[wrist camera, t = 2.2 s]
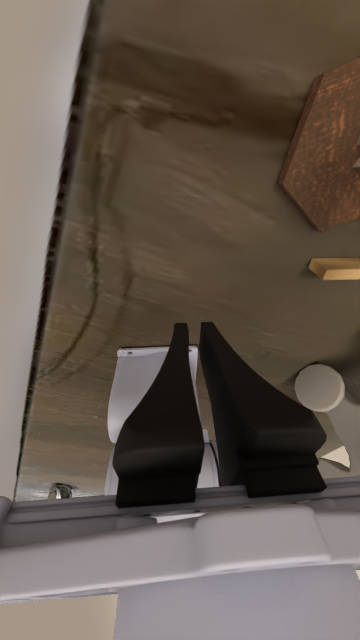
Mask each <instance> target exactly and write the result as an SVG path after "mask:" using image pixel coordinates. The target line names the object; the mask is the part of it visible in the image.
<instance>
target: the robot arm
mask: <svg viewBox="0 0 360 640" xmlns="http://www.w3.org/2000/svg"><path fill="white" fill-rule="evenodd" d="M189 349H191V350H189ZM199 351H200V359H201V365H202V369H203V373H204V377H205V381H206V385H207V389H208V393H209V397H210V402H211V407H212V414H213V421H214V428H215V435H216V441H214V440H209V435H208V430H207V429H202V425H201V418H200V411H199V404H198V396H197V389H196V370H197V358H198V347H197V346H189V331H188V326H187V323H176V324H174V332H173V337H172V341H171V344H170V347H146V348H122V349H118V351H117V355H118V360H117V365H116V370H115V375H114V380H113V384H112V389H111V394H110V399H109V406H108V433H109V438H110V440H111V442H113V443H116V445H115V446H114V447H113V449H112V451H111V455H110V459H109V464H108V470H107V476H106V482H105V489H104V495H102V496H89V497H75V498H62V499H49V500H36V501H22V502H12V501H11V500H10V499H9V498H6V497H3V496H0V604H8V603H18V602H30V601H42V600H52V599H65V598H76V597H88V596H98V595H110V594H118V598H117V608H116V618H115V628H114V639H113V640H360V580H359V578H358V576H357V573H356V571H355V570H360V476H354V477H340V478H327V479H323V478H322V476H321V474H320V472H319V469H318V467H317V465H319V461H318V459H317V457H316V455H315V453H316V452H317V451H318V450H319V449H320V448H321V446H322V445H323V444H324V443H325V441H326V437H327V435H326V433H325V432H324V430H323V428H322V426H321V424H320V423H319V421H318V419H317V418H316V417H315V415H314V414H313V412H312V411H311V410H309V409H307V408H306V407H304V406H302V405H301V404H299V403H297V402H296V401H294V400H292V399H291V398H289V397H288V396H286V395H285V394H283V393H282V392H280V391H279V390H277V389H276V388H275V387H273V386H272V385H271V384H270V383H268V382H267V381H266V380H264V379H263V378H262V377H261V376H259V375H258V374H257V373H256V372H255V371H254V370H253V369H252V368H250V367H249V366H248V365H247V364H246V363H245V362H244V361H243V360H242V359H241V358H240V356H239V355H238V354H237V353H236V352H235V351H234V350H233V349H232V347H231V346H230V345H229V344H228V343H227V341H226V340H225V339H224V337H223V336H222V335H221V333H220V332H219V331H218V329H217V328H216V326H215V325H214V323H213V322H201V332H200V344H199Z"/></svg>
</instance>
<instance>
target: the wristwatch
mask: <svg viewBox="0 0 360 640" xmlns="http://www.w3.org/2000/svg"><path fill="white" fill-rule="evenodd" d="M56 488H58V489H59V490H60V495H61V499H62V498H71V497H72V492H71V489H70V487H69V486H66V485H56V486H52V487H51V488H50V494H49V495H48V500H49V499H56V495H57V492H56Z"/></svg>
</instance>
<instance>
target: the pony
mask: <svg viewBox="0 0 360 640" xmlns="http://www.w3.org/2000/svg"><path fill="white" fill-rule="evenodd" d="M295 392H296V395H297V398H298V400H299V401H300V402H301V403H302V404H303V406H305V407H307V408H309V409H311V410H313V411H316V412H324V413H325V414H326V415H327V416H328V417H329V418H330V420H331V423H332V427H333V429H334V431H335V433H336V435H337V436H338V438H339V439H340V441H341V442H342V444H343V445H344V446H345V448H346V451H347V453H348V455H349V460H350V468H348V467H346V466H344V465H342V464H341V463H339V462H335V461H332V460H328V459H325V458H318V461H319V465H317V467H318V469H319V472H320V474H321V476H322V478H323V479H327V478H340V477H354V476H360V385H358V384H357V383H356V382H355V381H353V380H351V379H348V378H344V377H341V375H340V374H339V373H338V372H336V371H335V370H334V369H333V368H332V367H330V366H326V365H322V364H315V365H310V366H308V367H306V368H305V369H303V370H302V371H300V373H299V375H298V376H297V378H296V381H295Z"/></svg>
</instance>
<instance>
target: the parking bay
mask: <svg viewBox="0 0 360 640" xmlns="http://www.w3.org/2000/svg"><path fill="white" fill-rule="evenodd" d="M308 268H309V269H310V270H311V271H312V272H314V273H315V274H316V275H317V276H318V277H319V278H321V279H322V280H349V279H360V257H352V258H312V259H311V262H310V264H309V267H308Z"/></svg>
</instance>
